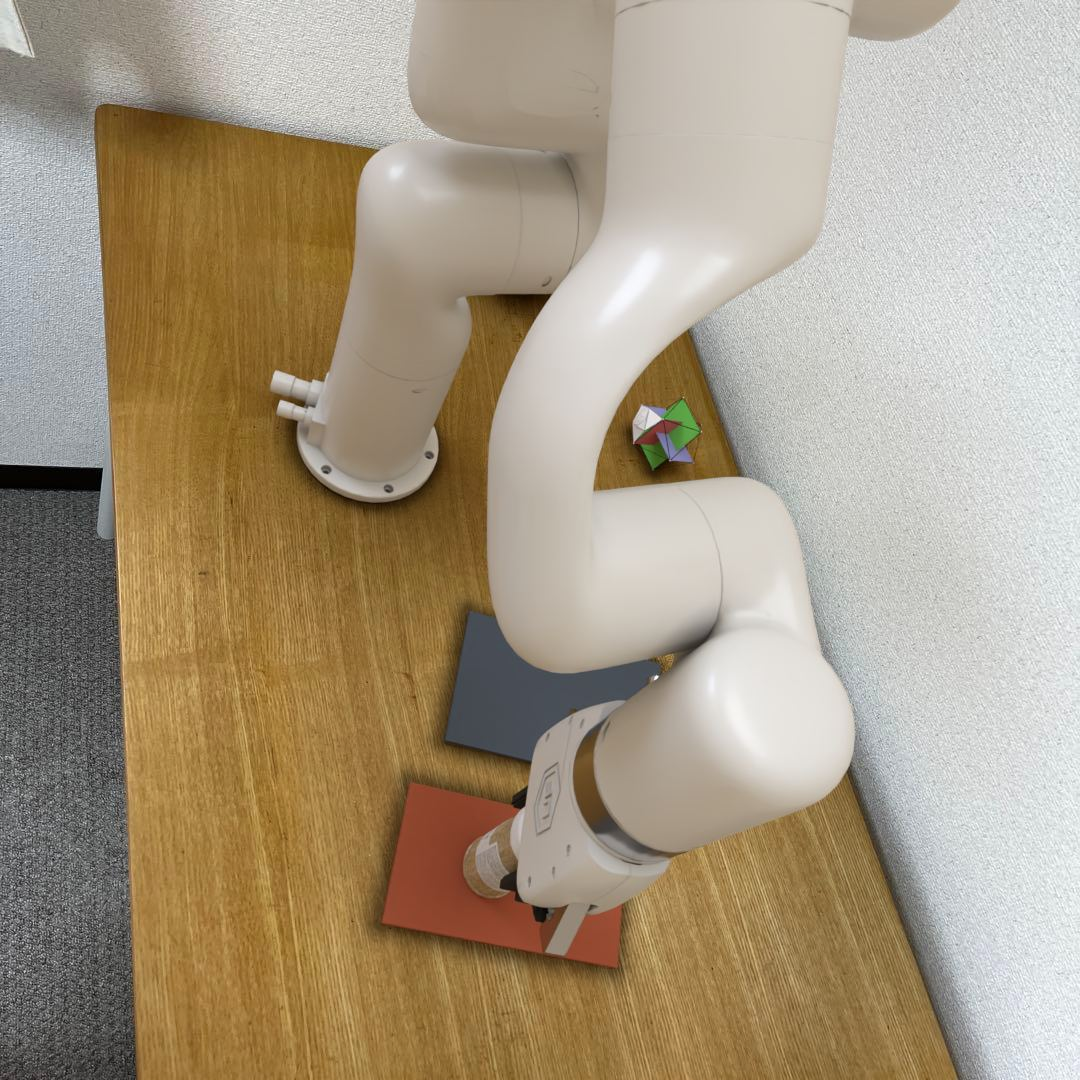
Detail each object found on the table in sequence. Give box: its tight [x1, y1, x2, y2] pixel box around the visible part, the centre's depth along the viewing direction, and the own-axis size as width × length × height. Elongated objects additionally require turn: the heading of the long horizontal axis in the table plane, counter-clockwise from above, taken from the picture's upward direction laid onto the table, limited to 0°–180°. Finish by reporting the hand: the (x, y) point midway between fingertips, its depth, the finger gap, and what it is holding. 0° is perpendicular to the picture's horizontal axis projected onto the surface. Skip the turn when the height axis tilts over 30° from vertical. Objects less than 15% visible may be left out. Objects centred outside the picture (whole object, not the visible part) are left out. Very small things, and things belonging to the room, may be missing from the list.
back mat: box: [443, 610, 662, 764], centre depth 75 cm, size 18×12×1 cm, turn 82°
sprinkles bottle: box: [463, 807, 525, 898], centre depth 61 cm, size 5×5×14 cm
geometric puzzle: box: [631, 396, 703, 471], centre depth 90 cm, size 7×7×8 cm
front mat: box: [380, 782, 623, 969], centre depth 67 cm, size 18×10×1 cm, turn 82°
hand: (528, 846), depth 59 cm, fingers closed on sprinkles bottle, 4 cm apart
